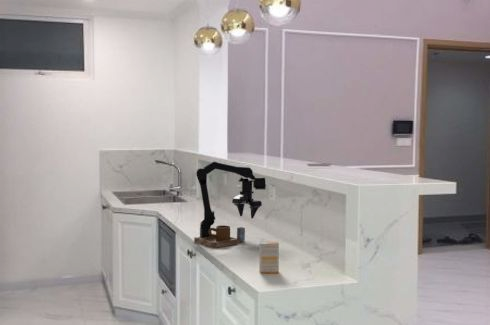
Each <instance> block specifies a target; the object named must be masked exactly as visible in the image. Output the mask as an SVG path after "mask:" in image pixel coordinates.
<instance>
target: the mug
mask: <svg viewBox="0 0 490 325" xmlns="http://www.w3.org/2000/svg"><path fill="white" fill-rule="evenodd" d="M212 231H213V232H215V233H212ZM208 234H209V235H210V236H211V237H215V238H216V239H215V242H219V241H225V240H230V237H231V226H230V225H217V226H216V228H215V227H211V228H210V229H209V231H208Z"/></svg>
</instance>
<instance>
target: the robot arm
mask: <svg viewBox="0 0 490 325" xmlns="http://www.w3.org/2000/svg"><path fill="white" fill-rule="evenodd" d="M214 170H220V171H224V172H228V173H233V174H236V175H238V176H241V177H240V178H239V179H238V182H240V183H241V190H240V192H239V194H238V195H236V196H234V197H233V198H232V200H231V202H232V204H233V205H234V206H235V207H236V208H237V210H238V214H239V216H240V217H243V214H244V209H245V205H249V207H248V208H249V210H250V218H251V219H254V218H255V216H256V213H257V211H258V210H259V208H261V207H262V205H263V204H262V201H261V200H256V199H255V200H254V198H253V194H254V192H255V191H253V189H255V190H257V191H258V190H264V191H265V190H266V187H267V185H266V178H265V177H264V176H262V177H256V176H255V175H254V174H253V173H254V171H253V170H252V168H251V167H249V166H237V165H232V164H228V163H222V162H220V161H219V162H218V161H215V160H214V161H212V162H211V163H209V164H208V165H206V166H204V167H199V168H197V170H196V173H195V175H196V178H197V180H198V184H199V186H200V192H201V198H202V205H203V212H204V213H203V220H202V221H201V222H200V224H199V225H200V227H199V236H198V237H197V238H204V237H210V235H209V234H208V231H209V229H210V228H212V227H211V226H213V225H214V224H215V220H216V215H215V210H212V208H211V202H210V196H209V195H210V194H209V190H208V177H207V176H208V174H210V173H211V172H212V171H214Z"/></svg>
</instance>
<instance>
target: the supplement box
mask: <svg viewBox="0 0 490 325" xmlns="http://www.w3.org/2000/svg"><path fill="white" fill-rule="evenodd" d="M279 248H280V244H279V242H278V240H277V241H259V249H258V251H259V254H258V255H259V264H258V265H259V267H258V268H259V273H260V274H279V273H280V272H279V270H280V268H279V267H280V264H279V263H280V262H279V261H280V260H279V259H280V257H279V256H280V253H279V252H280V251H279V250H280V249H279Z"/></svg>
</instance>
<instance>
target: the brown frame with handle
mask: <svg viewBox="0 0 490 325" xmlns="http://www.w3.org/2000/svg"><path fill="white" fill-rule="evenodd" d="M193 238H194V240H193V241H194V243H198V244H199V245H200V244H201V245H204V246H208V247H211V248H221V247H227V246H232V245H238V244H240V242H245V241H246V227H242V226H240V227H239V226H238V227H237V228H236V237H233V236H230V240H225V241H219V242H216V241H213V240H216V238H215V237H211V236H210V237H204V238H198V237H196V236H195V237H193ZM211 240H212V241H211Z"/></svg>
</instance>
